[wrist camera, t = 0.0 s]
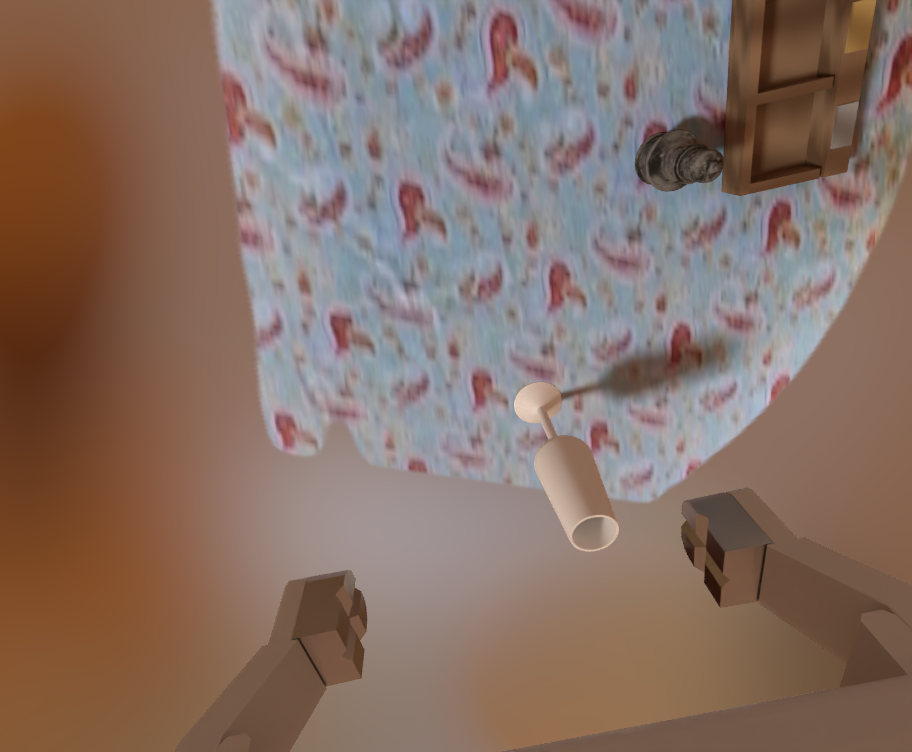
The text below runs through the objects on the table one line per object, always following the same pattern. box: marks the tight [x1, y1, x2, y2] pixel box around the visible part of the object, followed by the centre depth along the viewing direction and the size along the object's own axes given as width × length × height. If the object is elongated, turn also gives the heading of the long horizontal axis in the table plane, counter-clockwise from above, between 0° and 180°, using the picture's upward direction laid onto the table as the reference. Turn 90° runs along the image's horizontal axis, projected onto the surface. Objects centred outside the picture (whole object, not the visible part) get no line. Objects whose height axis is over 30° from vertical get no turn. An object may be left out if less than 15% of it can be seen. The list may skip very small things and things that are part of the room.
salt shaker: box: [635, 130, 724, 192], centre depth 48 cm, size 6×6×12 cm
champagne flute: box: [514, 382, 619, 551], centre depth 56 cm, size 7×7×24 cm
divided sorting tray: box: [722, 0, 876, 196], centre depth 49 cm, size 18×12×4 cm, turn 12°
